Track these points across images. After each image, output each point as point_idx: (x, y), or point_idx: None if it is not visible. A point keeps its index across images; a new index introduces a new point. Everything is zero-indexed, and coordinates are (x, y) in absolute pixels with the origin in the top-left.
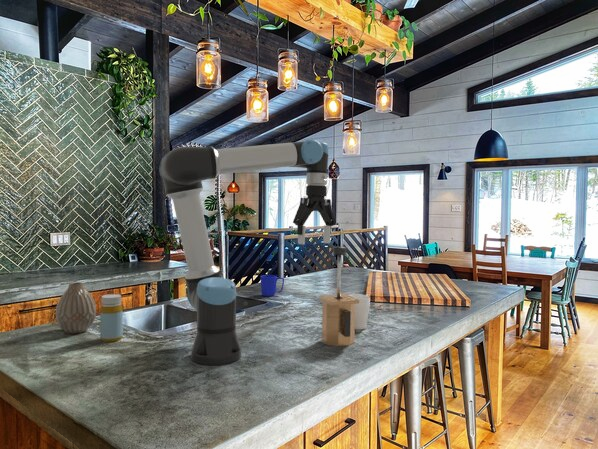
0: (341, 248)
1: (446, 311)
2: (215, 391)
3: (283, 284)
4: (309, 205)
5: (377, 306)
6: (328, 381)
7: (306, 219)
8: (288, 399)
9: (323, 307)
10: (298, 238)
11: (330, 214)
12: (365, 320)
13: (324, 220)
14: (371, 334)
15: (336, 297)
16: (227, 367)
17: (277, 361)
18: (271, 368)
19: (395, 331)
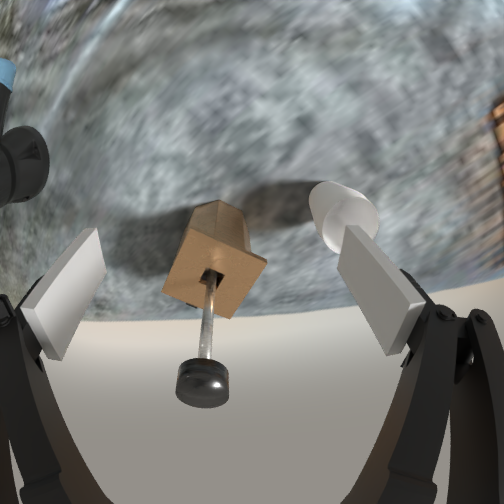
0: (190, 404)
1: (483, 254)
2: (4, 255)
3: None
4: None
5: (475, 148)
6: (98, 313)
7: (53, 407)
8: None
9: (181, 244)
10: (70, 249)
11: (455, 427)
12: (329, 226)
13: (417, 360)
14: (300, 246)
15: (213, 269)
16: (22, 208)
17: (76, 233)
18: (60, 247)
19: None
